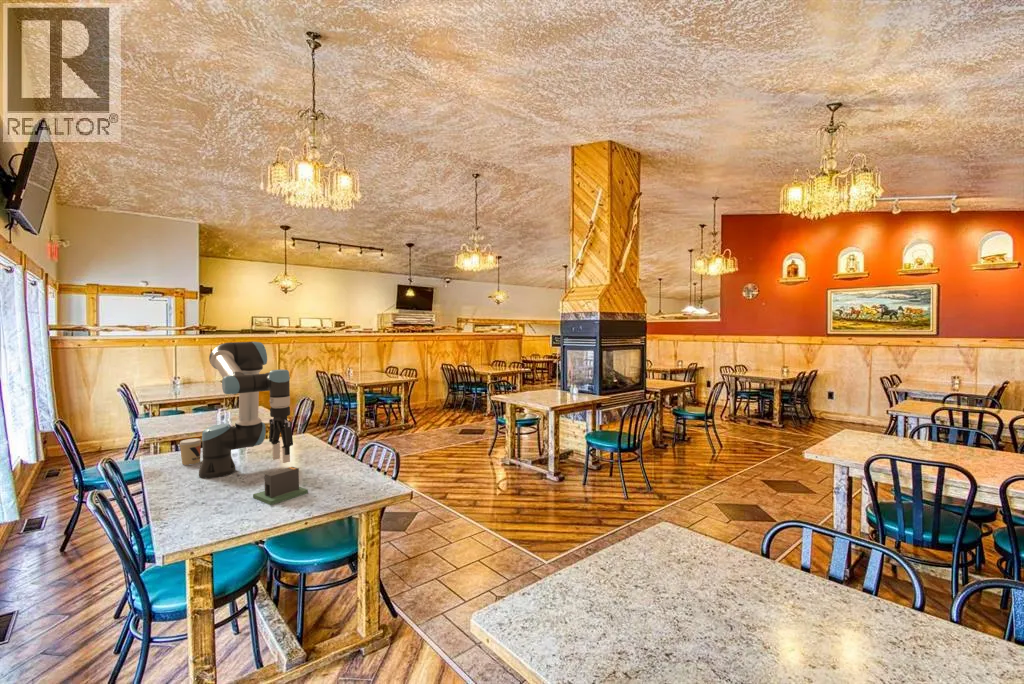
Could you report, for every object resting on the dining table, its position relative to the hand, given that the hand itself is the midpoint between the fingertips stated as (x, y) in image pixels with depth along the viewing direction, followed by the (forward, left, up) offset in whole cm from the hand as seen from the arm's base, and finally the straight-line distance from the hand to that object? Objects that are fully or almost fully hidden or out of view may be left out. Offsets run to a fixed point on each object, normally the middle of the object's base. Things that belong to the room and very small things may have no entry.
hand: (281, 460), depth 192 cm
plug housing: (0, 0, -13) cm, 13 cm away
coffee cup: (-87, -2, -15) cm, 88 cm away
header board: (-1, 0, -15) cm, 15 cm away
